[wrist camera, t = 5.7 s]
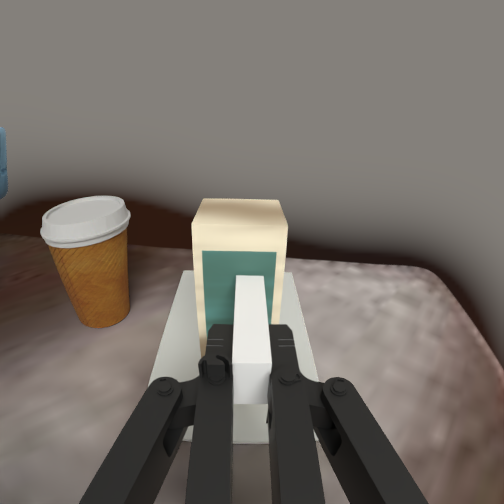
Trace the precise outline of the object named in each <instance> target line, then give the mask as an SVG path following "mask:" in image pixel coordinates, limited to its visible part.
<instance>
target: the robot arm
mask: <svg viewBox="0 0 504 504" xmlns="http://www.w3.org/2000/svg"><path fill="white" fill-rule="evenodd" d="M7 191H8V178H7V158H6V132H5V129H4V128H3V127H1V128H0V199H2V198H3V197H5V196H6V194H7ZM198 368H199V376H198V377H196V378H194V379H192V380H189V381H184V382H178V381H177V380H176V379H174V378H172V377H159V378H157V379H155V380H153V381H152V383H151V384H150V385H149V387H148V388H147V390H146V391H145V393H144V395H143V396H142V398H141V400H140V401H139V403H138V405H137V406H136V408H135V410H134V411H133V413H132V415H131V416H130V418H129V419H128V421H127V423H126V424H125V426H124V428H123V429H122V431H121V433H120V434H119V436H118V438H117V439H116V441H115V443H114V444H113V446H112V448H111V450H110V451H109V453H108V455H107V456H106V458H105V460H104V461H103V463H102V465H101V466H100V468H99V470H98V471H97V473H96V475H95V477H94V478H93V480H92V482H91V483H90V485H89V487H88V489H87V490H86V492H85V494H84V495H83V497H82V499H81V501H80V502H79V504H153V503H154V501H155V499H156V497H157V495H158V493H159V490H160V488H161V486H162V484H163V482H164V480H165V477H166V475H167V473H168V471H169V469H170V466H171V464H172V462H173V460H174V458H175V455H176V453H177V451H178V449H179V447H180V444H181V442H182V440H183V438H184V436H185V433H186V431H187V429H188V426H193V425H194V426H193V434H192V443H191V451H190V460H189V470H188V479H187V489H186V500H185V504H232V461H233V404H267V401H268V412H267V420H266V423H268V436H269V454H270V471H271V489H272V504H325V499H324V492H323V486H322V479H321V473H320V466H319V460H318V454H317V448H316V442H315V436H314V432H315V434H316V436H317V438H318V440H319V442H320V444H321V446H322V448H323V450H324V452H325V454H326V456H327V458H328V460H329V462H330V464H331V466H332V468H333V470H334V472H335V474H336V476H337V478H338V480H339V482H340V484H341V486H342V488H343V490H344V492H345V494H346V496H347V498H348V500H349V502H350V504H428V502H427V500H426V499H425V497H424V496H423V494H422V492H421V491H420V489H419V488H418V486H417V484H416V483H415V481H414V480H413V478H412V476H411V475H410V473H409V472H408V470H407V468H406V467H405V465H404V464H403V462H402V461H401V459H400V457H399V456H398V454H397V453H396V451H395V450H394V448H393V446H392V445H391V443H390V442H389V440H388V439H387V437H386V435H385V434H384V432H383V431H382V429H381V428H380V426H379V424H378V423H377V421H376V420H375V418H374V417H373V415H372V414H371V412H370V410H369V409H368V407H367V406H366V404H365V403H364V401H363V400H362V398H361V396H360V395H359V393H358V392H357V390H356V389H355V387H354V386H353V384H352V383H351V382H350V381H348V380H346V379H344V378H340V377H334V378H330V379H328V380H327V381H326V382H325V383H321V382H316V381H313V380H310V379H308V378H306V377H305V376H304V375H303V374H302V373H301V372H300V369H299V364H298V359H297V353H296V348H295V342H294V337H293V332H292V330H291V329H290V327H289V326H288V325H287V324H268V316H267V306H266V295H265V285H264V276H246V275H236V289H235V309H234V324H213V325H212V327H211V328H210V329H209V330H208V337H207V344H206V351H205V356H203V357H202V358H201V359H200V360H199V363H198Z"/></svg>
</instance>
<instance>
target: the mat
mask: <svg viewBox="0 0 504 504" xmlns="http://www.w3.org/2000/svg"><path fill="white" fill-rule="evenodd" d="M279 324H287V325H288V326H289V327H290V329H291V330H292V332H293V337H294V342H295V348H296V353H297V359H298V364H299V369H300V372H301V373H302V374H303V375H304V376H305V377H306V378H308V379H310V380H313V381H316V382H319V380H318V376H317V371H316V367H315V363H314V359H313V355H312V351H311V346H310V342H309V338H308V334H307V330H306V326H305V322H304V318H303V314H302V310H301V307H300V303H299V299H298V295H297V291H296V287H295V283H294V280H293V276H292V273H288V272H284V278H283V289H282V299H281V309H280V319H279ZM200 359H201V351H200V341H199V330H198V318H197V306H196V293H195V278H194V271H185V270H184V272H183V274H182V277H181V280H180V283H179V286H178V289H177V292H176V295H175V299H174V302H173V305H172V308H171V311H170V314H169V317H168V320H167V324H166V327H165V330H164V333H163V337H162V340H161V343H160V346H159V350H158V353H157V357H156V360H155V363H154V367H153V370H152V374H151V377H150V381H149V384H148V387H149V385H150V384H151V383H152V381H153V380H155V379H157V378H159V377H172V378H174V379H176V380H177V381H178V382H184V381H189V380H192V379H194V378H196V377H198V376H199V368H198V363H199V360H200ZM267 412H268V401H267V404H233V444H269V436H268V423H266V420H267ZM193 426H194V425H193ZM193 426H188V429H187V431H186V433H185V436H184V438H183V440H182V441H190V442H192V434H193ZM314 436H315V441H319V440H318V438H317V436H316V434H315V432H314Z"/></svg>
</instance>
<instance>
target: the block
mask: <svg viewBox="0 0 504 504" xmlns="http://www.w3.org/2000/svg"><path fill="white" fill-rule="evenodd" d="M287 230H288V225H287V222H286V219H285V217H284V214H283V211H282V209H281V206H280V203H279V201H278V200H259V199H258V200H257V199H203V201H202V203H201V205H200V207H199V209H198V211H197V214H196V216H195V218H194V220H193V223H192V242H193V262H194V278H195V293H196V306H197V318H198V330H199V341H200V351H201V358H202V357H203V356H205V351H206V344H207V337H208V330H209V329H210V328H211V327H212V325H213V324H234V309H235V289H236V275H246V276H264V285H265V295H266V306H267V316H268V324H279V319H280V309H281V299H282V289H283V278H284V267H285V256H286V244H287Z"/></svg>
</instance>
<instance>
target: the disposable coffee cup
mask: <svg viewBox="0 0 504 504" xmlns="http://www.w3.org/2000/svg"><path fill="white" fill-rule="evenodd" d="M129 219H130V212H129V211H128V210H127V209H126V206H125V203H124V200H123V199H121V198H118V197H114V196H93V197H85V198H80V199H76V200H72V201H69V202H66V203H63V204H60V205H58V206H56V207H54V208H52V209H50V210H49V211H47V212H46V213H45V214H44V216H43V218H42V228H41V232H40V233H41V236H42V237H43V239H44V240H45V242H46V243H47V244H48V246H49V249H50V251H51V255H52V257H53V260H54V262H55V265H56V267H57V270H58V272H59V274H60V277H61V279H62V282H63V284H64V287H65V289H66V291H67V293H68V296H69V298H70V300H71V302H72V305H73V307H74V309H75V311H76V313H77V315H78V317H79V319H80V321H81V322H82V323H83V324H84V325H86V326H89V327H93V328H103V327H108V326H112V325H114V324H116V323H118V322H120V321H121V320H123V319H124V318H125V317H126V316H127V314H128V313H129V310H130V303H129V286H128V265H127V226H128V223H129Z"/></svg>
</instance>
